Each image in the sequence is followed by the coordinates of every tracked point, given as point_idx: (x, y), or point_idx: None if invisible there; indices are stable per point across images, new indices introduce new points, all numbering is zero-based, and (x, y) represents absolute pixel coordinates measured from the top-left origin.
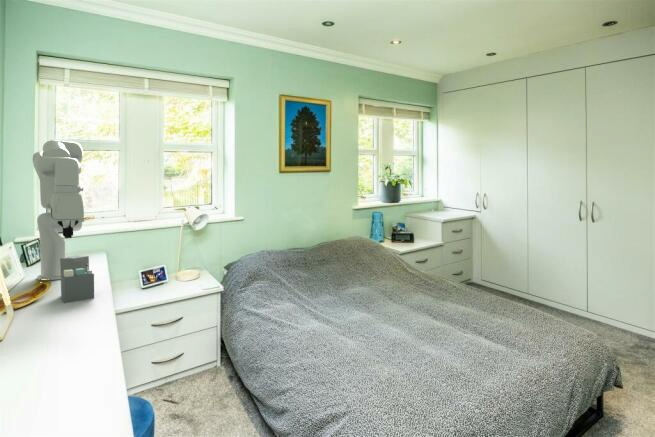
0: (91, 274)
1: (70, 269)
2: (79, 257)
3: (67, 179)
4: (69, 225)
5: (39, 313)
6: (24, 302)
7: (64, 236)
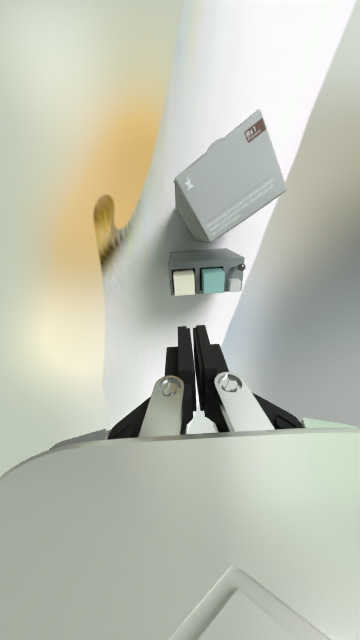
0: None
1: (191, 274)
2: (240, 219)
3: None
4: (213, 409)
5: (132, 314)
6: (104, 218)
7: (178, 328)
